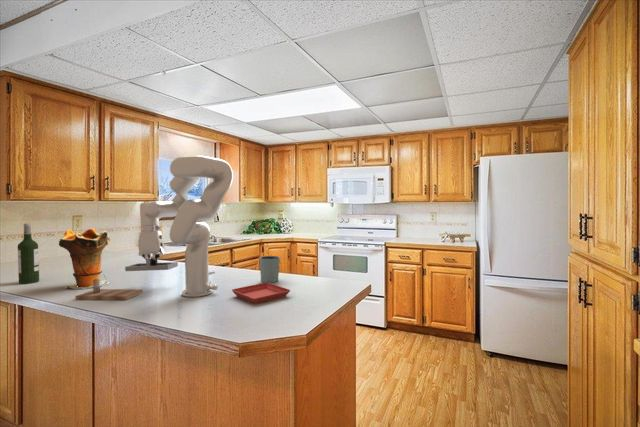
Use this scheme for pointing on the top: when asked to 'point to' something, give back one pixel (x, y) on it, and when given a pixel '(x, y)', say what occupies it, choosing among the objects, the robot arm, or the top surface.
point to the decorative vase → (85, 255)
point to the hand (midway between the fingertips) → (152, 268)
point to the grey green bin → (269, 268)
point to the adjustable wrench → (211, 272)
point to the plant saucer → (260, 292)
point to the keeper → (108, 293)
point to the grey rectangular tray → (149, 266)
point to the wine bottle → (28, 258)
